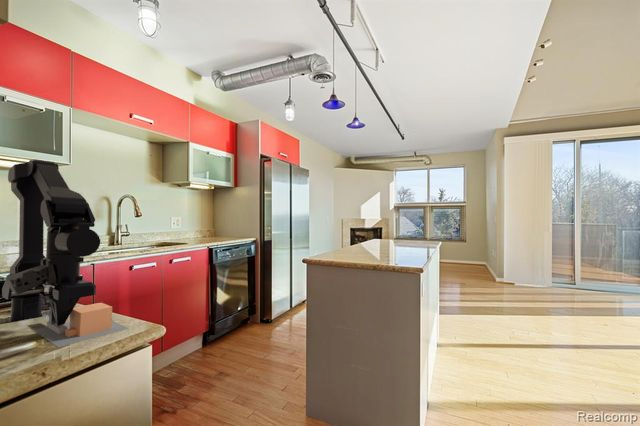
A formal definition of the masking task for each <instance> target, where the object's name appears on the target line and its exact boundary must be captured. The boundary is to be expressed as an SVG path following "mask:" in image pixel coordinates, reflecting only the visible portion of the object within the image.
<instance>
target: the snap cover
mask: <svg viewBox="0 0 640 426" xmlns="http://www.w3.org/2000/svg"><path fill="white" fill-rule="evenodd" d="M112 315H113V306H111V305H109V304H106V303H104V302H97V303H93V304H92V303H91V304H86V305H82V306H77V307H76V306H75V307H74V308H73V310H72V312H71V313H70V315H69V322H70V328H69V329H65V335H66V336H67V337H71V336H75V335H78V336H84V335H88V334H92V333H96V332H100V331H104V330H108V329H111V327H112V321H113V320H112V319H113V318H112V317H113V316H112Z"/></svg>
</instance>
